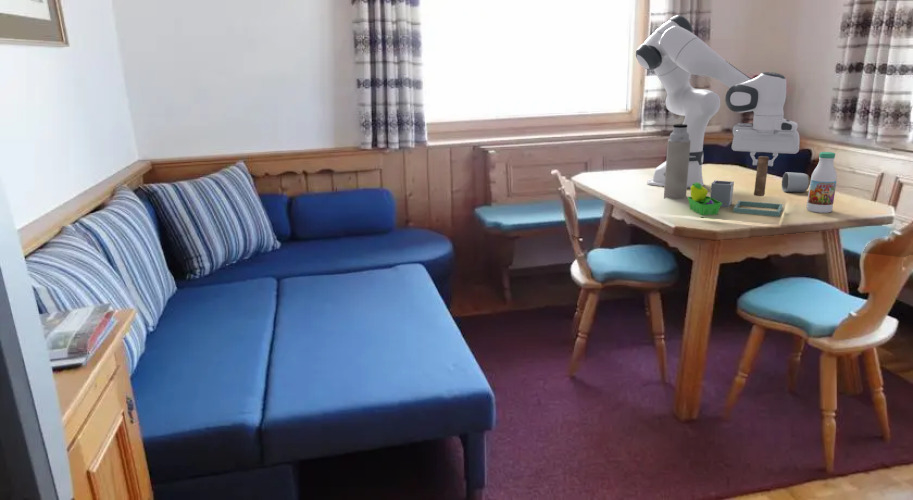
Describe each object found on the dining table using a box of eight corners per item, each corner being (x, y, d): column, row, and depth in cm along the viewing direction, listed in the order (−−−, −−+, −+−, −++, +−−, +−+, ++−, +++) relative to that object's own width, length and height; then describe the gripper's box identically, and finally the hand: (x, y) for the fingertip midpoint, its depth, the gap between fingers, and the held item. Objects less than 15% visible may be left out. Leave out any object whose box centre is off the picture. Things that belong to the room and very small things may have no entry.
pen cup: (709, 208, 224) (711, 183, 221) (712, 204, 229) (714, 180, 226) (728, 210, 221) (731, 185, 218) (731, 206, 226) (733, 181, 223)
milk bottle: (801, 208, 220) (809, 151, 214) (822, 207, 221) (830, 150, 215) (815, 213, 213) (823, 154, 207) (837, 212, 213) (846, 153, 207)
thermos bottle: (663, 196, 244) (669, 123, 236) (685, 197, 242) (691, 123, 234) (663, 200, 237) (668, 125, 229) (685, 201, 235) (692, 125, 226)
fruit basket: (721, 217, 212) (725, 184, 208) (696, 219, 211) (699, 186, 208) (706, 210, 222) (709, 178, 219) (682, 211, 222) (684, 179, 218)
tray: (732, 215, 214) (733, 207, 214) (738, 207, 224) (738, 200, 223) (778, 219, 207) (779, 211, 207) (781, 211, 217) (782, 204, 216)
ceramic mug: (809, 193, 241) (812, 173, 239) (786, 193, 243) (789, 173, 240) (799, 188, 252) (801, 169, 249) (777, 188, 253) (779, 169, 250)
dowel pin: (753, 195, 213) (757, 157, 209) (754, 193, 216) (758, 156, 212) (763, 196, 212) (768, 158, 208) (764, 194, 214) (769, 156, 210)
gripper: (732, 123, 209) (727, 165, 213) (801, 125, 199) (795, 169, 203) (734, 121, 214) (730, 162, 219) (802, 123, 204) (797, 165, 208)
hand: (762, 165), depth 211 cm, fingers closed on dowel pin, 3 cm apart
